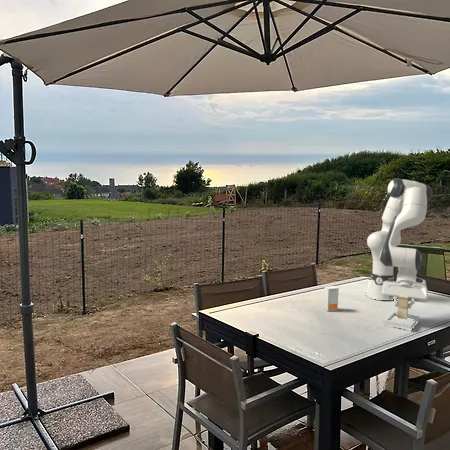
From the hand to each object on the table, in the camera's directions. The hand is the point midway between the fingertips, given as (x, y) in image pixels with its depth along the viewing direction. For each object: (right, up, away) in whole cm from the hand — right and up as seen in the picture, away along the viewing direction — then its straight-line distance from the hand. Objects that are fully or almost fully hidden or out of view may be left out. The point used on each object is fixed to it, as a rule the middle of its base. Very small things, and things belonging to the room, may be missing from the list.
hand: (402, 307), depth 195 cm
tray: (0, -8, +1) cm, 8 cm away
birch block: (0, -5, +1) cm, 5 cm away
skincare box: (-28, -6, +22) cm, 36 cm away
